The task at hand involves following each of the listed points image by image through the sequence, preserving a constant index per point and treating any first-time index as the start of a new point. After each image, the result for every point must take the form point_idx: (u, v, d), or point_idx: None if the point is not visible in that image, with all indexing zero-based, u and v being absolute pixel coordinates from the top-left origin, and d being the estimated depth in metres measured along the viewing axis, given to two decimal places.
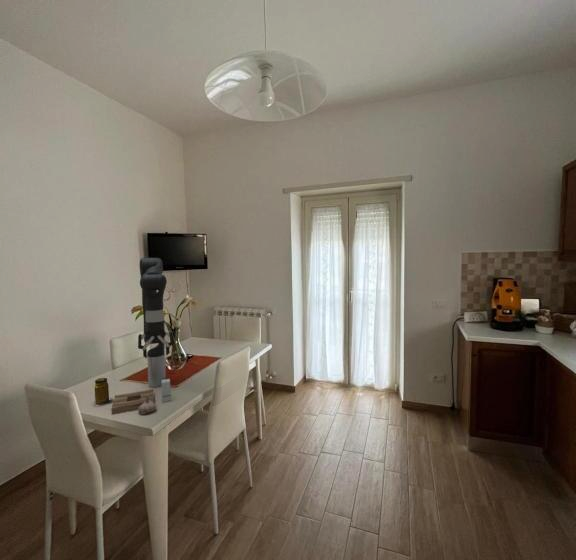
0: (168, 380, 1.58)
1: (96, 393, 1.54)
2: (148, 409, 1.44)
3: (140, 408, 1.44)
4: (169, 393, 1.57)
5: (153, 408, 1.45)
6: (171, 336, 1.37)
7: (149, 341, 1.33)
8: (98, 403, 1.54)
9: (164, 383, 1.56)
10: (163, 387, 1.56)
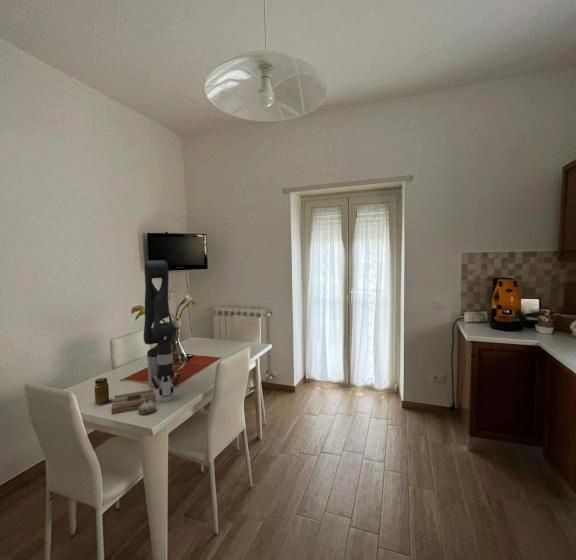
0: None
1: (96, 393, 1.54)
2: (148, 409, 1.44)
3: (140, 408, 1.44)
4: (169, 393, 1.57)
5: (153, 408, 1.45)
6: (177, 377, 1.59)
7: (161, 381, 1.56)
8: (98, 403, 1.54)
9: (164, 383, 1.56)
10: (163, 387, 1.56)
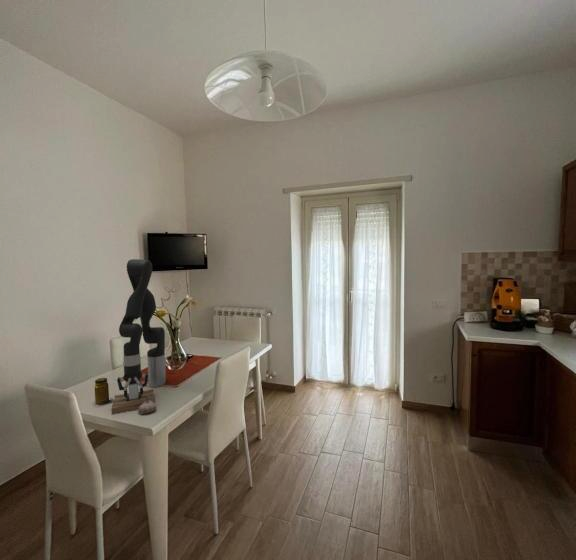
0: (136, 383, 1.54)
1: (96, 393, 1.54)
2: (148, 409, 1.44)
3: (140, 408, 1.44)
4: (136, 396, 1.53)
5: (153, 408, 1.45)
6: (146, 378, 1.55)
7: (127, 383, 1.51)
8: (98, 403, 1.54)
9: (131, 386, 1.52)
10: (129, 390, 1.52)
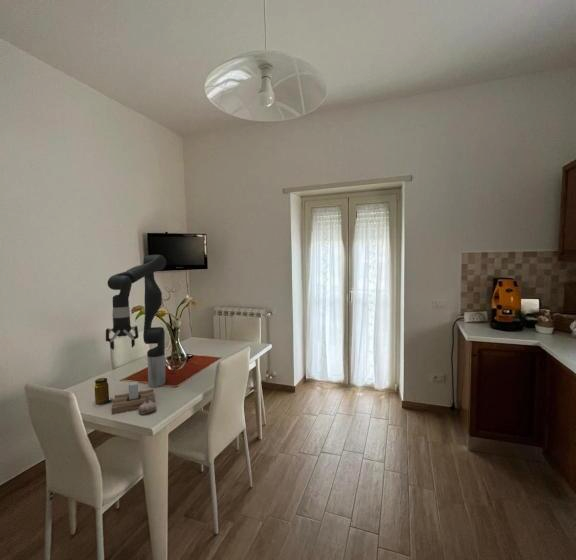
0: (136, 383, 1.54)
1: (96, 393, 1.54)
2: (148, 409, 1.44)
3: (140, 408, 1.44)
4: (136, 396, 1.53)
5: (153, 408, 1.45)
6: (136, 330, 1.55)
7: (116, 334, 1.51)
8: (98, 403, 1.54)
9: (131, 386, 1.52)
10: (129, 390, 1.52)
